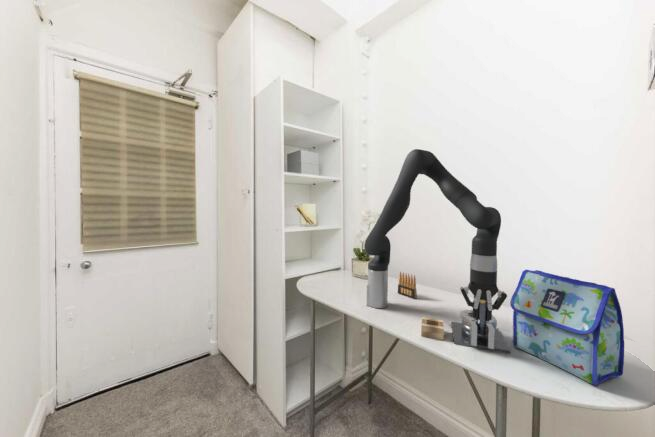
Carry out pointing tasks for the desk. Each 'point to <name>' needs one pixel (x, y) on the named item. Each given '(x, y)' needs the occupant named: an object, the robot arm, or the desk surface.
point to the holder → (432, 328)
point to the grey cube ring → (470, 321)
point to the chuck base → (463, 334)
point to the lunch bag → (569, 324)
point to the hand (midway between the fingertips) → (481, 319)
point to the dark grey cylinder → (482, 317)
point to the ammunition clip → (407, 286)
